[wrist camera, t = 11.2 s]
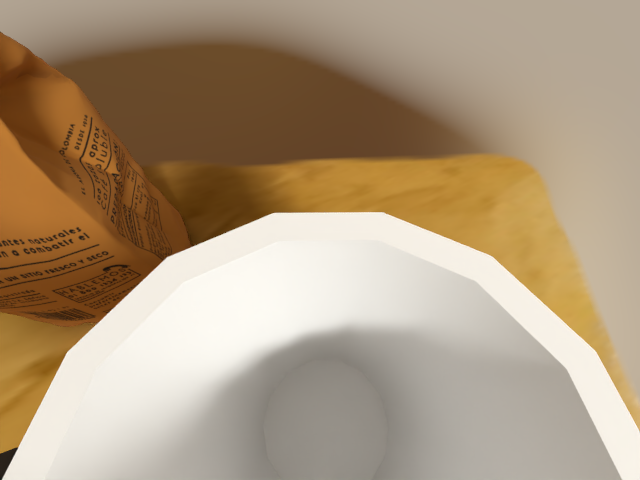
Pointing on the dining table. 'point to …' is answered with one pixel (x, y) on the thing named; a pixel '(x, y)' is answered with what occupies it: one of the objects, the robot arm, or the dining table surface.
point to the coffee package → (70, 201)
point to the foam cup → (330, 368)
